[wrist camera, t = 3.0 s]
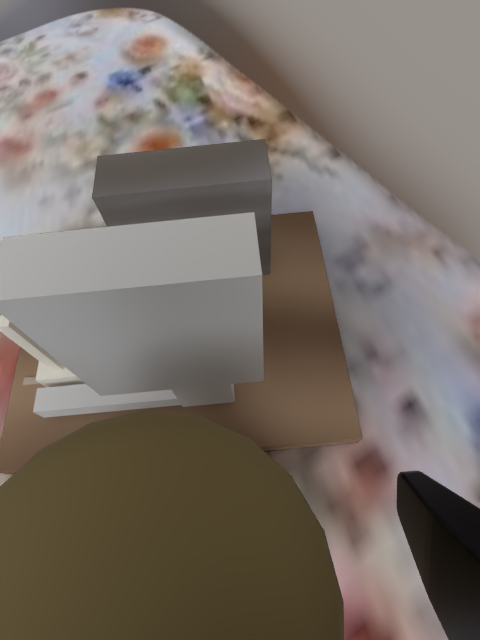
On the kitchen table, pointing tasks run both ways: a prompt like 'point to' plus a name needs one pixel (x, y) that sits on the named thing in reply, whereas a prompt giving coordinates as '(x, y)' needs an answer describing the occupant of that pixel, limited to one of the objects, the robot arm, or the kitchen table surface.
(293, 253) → the board
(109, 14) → the kitchen table surface
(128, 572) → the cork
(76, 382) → the pointer
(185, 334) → the block
